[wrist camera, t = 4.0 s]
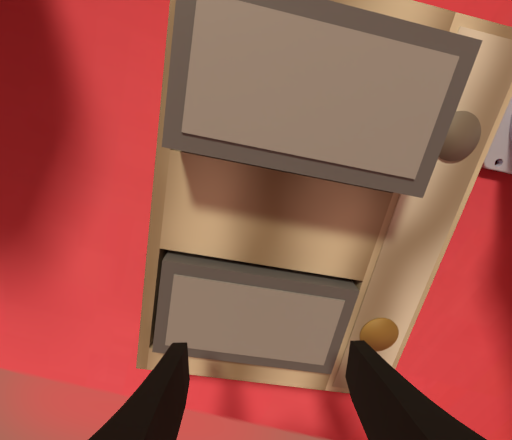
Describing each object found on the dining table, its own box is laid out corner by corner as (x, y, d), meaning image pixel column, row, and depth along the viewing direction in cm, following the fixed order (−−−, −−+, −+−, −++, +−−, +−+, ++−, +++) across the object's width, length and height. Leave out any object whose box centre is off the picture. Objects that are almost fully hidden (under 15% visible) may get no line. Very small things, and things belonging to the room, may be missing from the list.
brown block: (339, 263, 19) (360, 292, 16) (316, 335, 21) (331, 375, 17) (177, 236, 18) (161, 261, 15) (167, 314, 20) (151, 353, 16)
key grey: (423, 62, 14) (485, 39, 10) (383, 183, 15) (424, 198, 12) (196, 6, 13) (179, -41, 9) (180, 143, 14) (160, 147, 11)
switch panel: (470, 56, 17) (542, 32, 13) (359, 353, 23) (384, 400, 19) (192, -15, 15) (174, -68, 11) (155, 326, 21) (135, 371, 17)
